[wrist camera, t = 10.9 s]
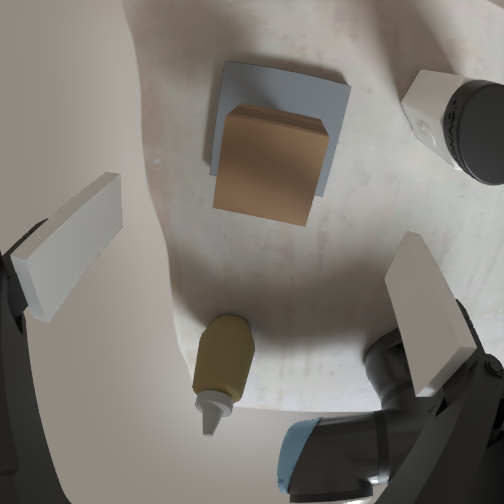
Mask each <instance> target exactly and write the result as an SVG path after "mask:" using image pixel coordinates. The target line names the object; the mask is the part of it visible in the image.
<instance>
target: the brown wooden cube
mask: <svg viewBox="0 0 504 504" xmlns="http://www.w3.org/2000/svg"><path fill="white" fill-rule="evenodd" d="M329 139H330V137H329V135H328V133H327V131H326V129H325V127H324V125H323V123H322V121H321V119H317V118H313V117H309V116H305V115H300V114H296V113H291V112H287V111H282V110H277V109H272V108H267V107H261V106H256V105H250V104H244V103H240V104H239V105H238V106H237V107H235V108H234V109H233V110H232V111H231V112H230V113H228V114H227V115H226V116H225V122H224V129H223V136H222V143H221V150H220V157H219V164H218V172H217V179H216V187H215V195H214V203H213V208H217V209H222V210H227V211H232V212H237V213H242V214H247V215H252V216H257V217H262V218H267V219H272V220H276V221H281V222H286V223H291V224H295V225H300V226H306V222H307V219H308V215H309V212H310V208H311V205H312V201H313V198H314V194H315V191H316V187H317V184H318V180H319V176H320V173H321V169H322V165H323V162H324V158H325V154H326V150H327V147H328V143H329Z"/></svg>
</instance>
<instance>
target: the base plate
mask: <svg viewBox="0 0 504 504" xmlns="http://www.w3.org/2000/svg"><path fill="white" fill-rule="evenodd" d="M350 90H351V86H349V85H346V84H342V83H338V82H334V81H331V80H327V79H323V78H318V77H314V76H310V75H305V74H301V73H296V72H291V71H286V70H281V69H275V68H270V67H264V66H258V65H251V64H244V63H237V62H228V61H225V63H224V70H223V76H222V83H221V89H220V96H219V103H218V111H217V118H216V125H215V133H214V141H213V149H212V157H211V166H210V175H214V176H217V172H218V164H219V157H220V150H221V143H222V136H223V129H224V122H225V116H226V115H227V114H228V113H230V112H231V111H232V110H233V109H234V108H235V107H237V106H238V105H239V104H240V103H244V104H250V105H256V106H261V107H267V108H272V109H277V110H282V111H287V112H291V113H296V114H300V115H305V116H309V117H313V118H317V119H321V121H322V123H323V125H324V127H325V129H326V131H327V133H328V135H329V137H330V139H329V143H328V147H327V150H326V154H325V158H324V162H323V165H322V169H321V173H320V176H319V180H318V184H317V187H316V191H315V194H314V195H315V196H320V197H323V193H324V190H325V186H326V183H327V179H328V175H329V172H330V168H331V165H332V161H333V157H334V153H335V150H336V146H337V142H338V138H339V134H340V131H341V127H342V123H343V119H344V115H345V111H346V107H347V103H348V98H349V94H350Z"/></svg>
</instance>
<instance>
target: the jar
mask: <svg viewBox="0 0 504 504" xmlns="http://www.w3.org/2000/svg"><path fill="white" fill-rule="evenodd" d="M401 105H402V107H403V109H404V111H405V113H406V115H407V117H408V119H409V121H410V124H411V126H412V128H413V130H414V132H415V135H416V137H417V139H418V140H419V141H420V142H421V143H423V144H424V145H425V146H427V147H428V148H429V149H431V150H432V151H433V152H435V153H436V154H437V155H438V156H440V157H441V158H442V159H443V160H445V161H446V162H447V163H448V164H450V165H451V166H452V167H453V168H454V169H456V170H463V171H465V172H466V173H467V174H469V175H470V176H471V177H472V178H474V179H476V180H477V181H479V182H481V183H483V184H487V185H501V184H504V85H502V84H499V83H495V82H491V81H486V80H477V79H473V78H469V77H465V76H460V75H454V74H449V73H443V72H437V71H430V70H423V69H421V70H420V71H419V73H418V75H417V76H416V78H415V80H414V81H413V83H412V85H411V86H410V88H409V90H408V91H407V93H406V94H405V96H404V98H403V99H402V101H401Z"/></svg>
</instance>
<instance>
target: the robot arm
mask: <svg viewBox="0 0 504 504" xmlns="http://www.w3.org/2000/svg"><path fill="white" fill-rule="evenodd" d="M120 182H121V181H120V174H115V173H108V172H106V173H104V174H103V175H102V176H100V177H99V178H98V179H96V180H95V181H94V182H93V183H91V184H90V185H89V186H87V187H86V188H85V189H84V190H82V191H81V192H80V193H79V194H77V195H76V196H75V197H74V198H72V199H71V200H70V201H69V202H68V203H66V204H65V205H64V206H63V207H62V208H60V209H59V210H58V211H57V212H56V213H55V214H53V215H52V216H51V217H50V218H49V219H48V218H47V219H45V220H43V221H41V222H39V223H38V224H36V225H35V226H34V227H33V228H32V229H30V230H29V232H28V233H26V234H25V235H24V236H23V237H22V239H20V240H18V241H17V242H16V243H15V244H14V245H13V246H12V247H11V248H10V249H9V250H8V251H7V252H6V253H5V254H4V255H3V256H2V255H1V252H0V504H71V503H70V501H69V500H68V499H67V498H66V496H65V494H64V492H63V490H62V488H61V485H60V482H59V479H58V477H57V474H56V471H55V468H54V465H53V462H52V458H51V455H50V452H49V449H48V445H47V441H46V438H45V434H44V430H43V426H42V422H41V418H40V414H39V409H38V405H37V400H36V395H35V389H34V384H33V378H32V372H31V365H30V358H29V350H28V342H27V331H26V320H25V316H24V313H23V311H24V310H25V308H26V307H27V306H28V307H29V309H30V312H31V314H32V316H33V317H34V318H36V319H38V320H41V321H43V322H46V323H49V321H50V320H51V319H52V317H53V316H54V314H55V313H56V311H57V310H58V309H59V307H60V306H61V304H62V303H63V302H64V300H65V299H66V297H67V296H68V295H69V293H70V292H71V291H72V289H73V288H74V287H75V285H76V284H77V283H78V281H79V280H80V279H81V277H82V276H83V274H84V273H85V272H86V271H87V270H88V268H89V267H90V266H91V264H92V263H93V262H94V261H95V259H96V258H97V257H98V256H99V254H100V253H101V252H102V251H103V249H104V248H105V247H106V246H107V245H108V243H109V242H110V241H111V240H112V239H113V237H114V236H115V235H116V234H117V233H118V231H119V230H120V229H121V228H122V227H123V226H122V208H121V183H120ZM384 280H385V283H386V286H387V289H388V292H389V296H390V299H391V302H392V305H393V309H394V312H395V316H396V319H397V323H398V326H399V329H397V330H395V331H393V332H391V333H389V334H387V335H385V336H384V337H382V338H381V339H379V340H378V341H377V342H376V343H375V344H374V345H373V346H372V347H371V348H370V349H369V351H368V353H367V355H366V357H365V368H366V374H367V377H368V379H369V380H370V382H371V383H372V385H373V387H374V389H375V391H376V393H377V395H378V397H379V399H380V401H381V406H382V410H379V411H373V412H367V413H361V414H354V415H346V416H339V417H329V418H324V417H319V418H317V419H312V420H305V421H299V422H296V423H294V424H293V425H292V426H291V427H290V428H289V429H288V431H287V433H286V435H285V437H284V440H283V443H282V447H281V451H280V456H279V462H278V471H277V475H278V487H279V490H280V491H281V492H283V493H285V494H290V504H367V503H368V502H369V501H370V500H371V499H372V498H373V486H375V485H380V484H386V483H388V486H387V487H386V489H385V490H384V491H383V493H382V494H381V495H380V497H379V498H378V500H377V501H376V502H375V503H374V504H504V368H503V366H502V364H501V363H500V361H499V360H498V359H497V358H496V357H494V356H492V355H491V354H486V353H485V351H484V349H483V347H482V344H481V342H480V340H479V337H478V335H477V333H476V331H475V328H473V324H472V322H471V320H469V319H470V318H469V316H468V313H467V311H466V309H465V308H464V307H463V305H462V304H461V303H460V302H459V301H458V299H455V298H454V296H453V294H452V292H451V290H450V288H449V286H448V284H447V282H446V280H445V278H444V276H443V274H442V272H441V271H440V269H439V267H438V265H437V263H436V261H435V260H434V258H433V256H432V254H431V253H430V251H429V249H428V247H427V246H426V244H425V242H424V240H423V239H422V237H421V235H419V234H416V233H412V232H408V231H406V233H405V235H404V237H403V239H402V242H401V244H400V246H399V248H398V251H397V253H396V255H395V257H394V259H393V261H392V263H391V265H390V268H389V270H388V272H387V274H386V276H385V278H384Z"/></svg>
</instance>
